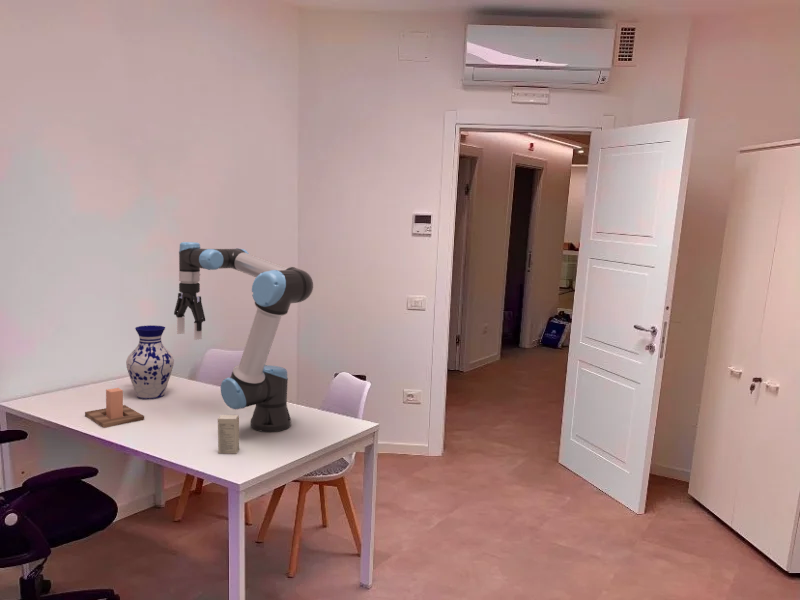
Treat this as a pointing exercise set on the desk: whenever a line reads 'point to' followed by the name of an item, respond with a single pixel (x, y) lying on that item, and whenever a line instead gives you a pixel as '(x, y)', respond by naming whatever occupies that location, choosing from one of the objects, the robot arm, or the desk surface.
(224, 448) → the skincare box
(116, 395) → the peg
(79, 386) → the desk surface
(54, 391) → the desk surface
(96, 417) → the socket frame
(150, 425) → the desk surface
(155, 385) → the vase
